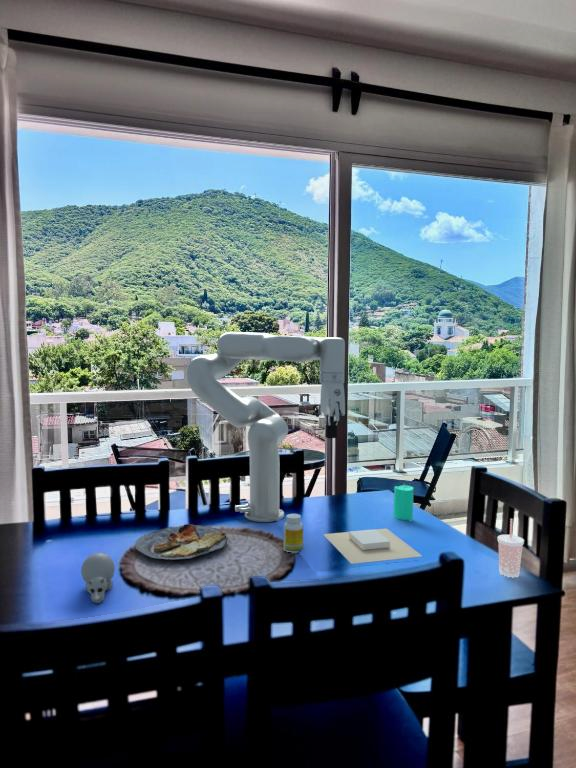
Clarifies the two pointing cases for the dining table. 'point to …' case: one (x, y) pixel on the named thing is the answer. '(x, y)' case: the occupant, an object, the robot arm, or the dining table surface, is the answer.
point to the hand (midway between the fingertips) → (331, 437)
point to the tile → (369, 540)
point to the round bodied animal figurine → (98, 575)
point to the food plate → (182, 542)
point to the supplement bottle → (293, 534)
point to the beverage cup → (510, 554)
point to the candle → (403, 502)
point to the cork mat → (356, 555)
